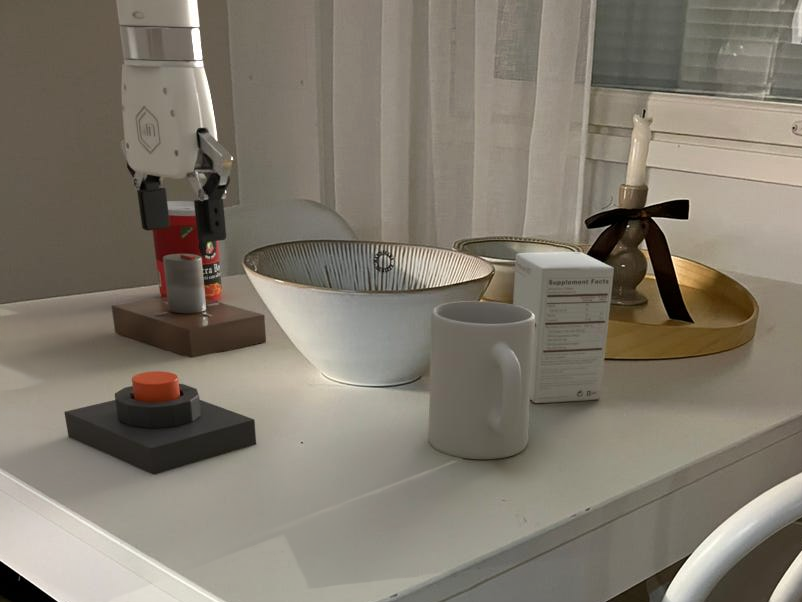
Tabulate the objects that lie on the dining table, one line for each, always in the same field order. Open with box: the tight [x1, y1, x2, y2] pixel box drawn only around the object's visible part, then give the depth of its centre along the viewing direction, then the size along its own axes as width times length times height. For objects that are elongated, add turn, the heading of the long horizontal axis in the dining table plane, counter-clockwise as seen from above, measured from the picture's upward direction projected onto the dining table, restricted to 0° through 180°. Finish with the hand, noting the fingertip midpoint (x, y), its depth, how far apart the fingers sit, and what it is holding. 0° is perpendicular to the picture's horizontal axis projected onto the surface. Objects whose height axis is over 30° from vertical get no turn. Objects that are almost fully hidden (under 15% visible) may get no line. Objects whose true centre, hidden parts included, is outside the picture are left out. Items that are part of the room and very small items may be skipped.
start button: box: [131, 370, 180, 402], centre depth 83 cm, size 4×4×2 cm
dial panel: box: [111, 296, 267, 359], centre depth 113 cm, size 14×10×3 cm
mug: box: [427, 300, 535, 460], centre depth 84 cm, size 12×8×11 cm
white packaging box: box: [512, 251, 615, 404], centre depth 99 cm, size 7×7×13 cm
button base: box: [63, 383, 257, 475], centre depth 84 cm, size 12×10×4 cm
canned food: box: [152, 200, 223, 302], centre depth 128 cm, size 8×8×11 cm
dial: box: [163, 254, 206, 314], centre depth 111 cm, size 4×4×6 cm
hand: (183, 234), depth 109 cm, fingers open, 9 cm apart
